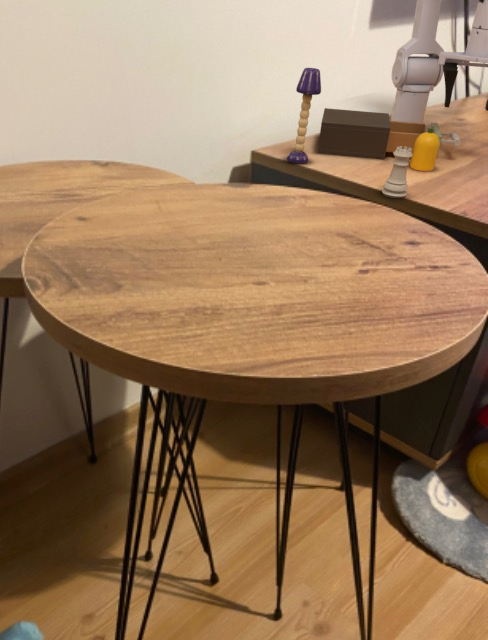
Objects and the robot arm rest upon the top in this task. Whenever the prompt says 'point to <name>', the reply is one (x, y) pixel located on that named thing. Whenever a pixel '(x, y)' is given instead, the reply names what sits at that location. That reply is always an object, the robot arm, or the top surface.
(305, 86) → the toy lamp
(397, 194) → the rook chess piece
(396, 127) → the drawer
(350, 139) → the cabinet
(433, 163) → the pepper
